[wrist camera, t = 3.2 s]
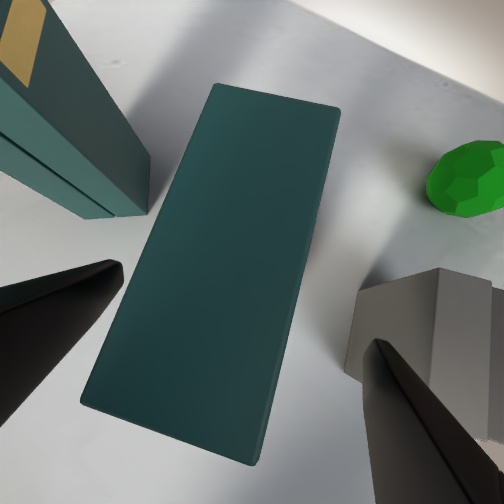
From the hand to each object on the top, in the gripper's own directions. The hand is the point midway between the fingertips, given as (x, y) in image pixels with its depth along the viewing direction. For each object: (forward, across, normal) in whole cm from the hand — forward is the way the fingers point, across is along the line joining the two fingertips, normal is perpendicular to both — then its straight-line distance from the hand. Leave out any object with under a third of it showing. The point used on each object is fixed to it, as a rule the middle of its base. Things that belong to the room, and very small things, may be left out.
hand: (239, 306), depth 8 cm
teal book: (+7, 0, +6) cm, 9 cm away
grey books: (+7, -9, +6) cm, 13 cm away
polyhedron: (+15, -12, -2) cm, 20 cm away
